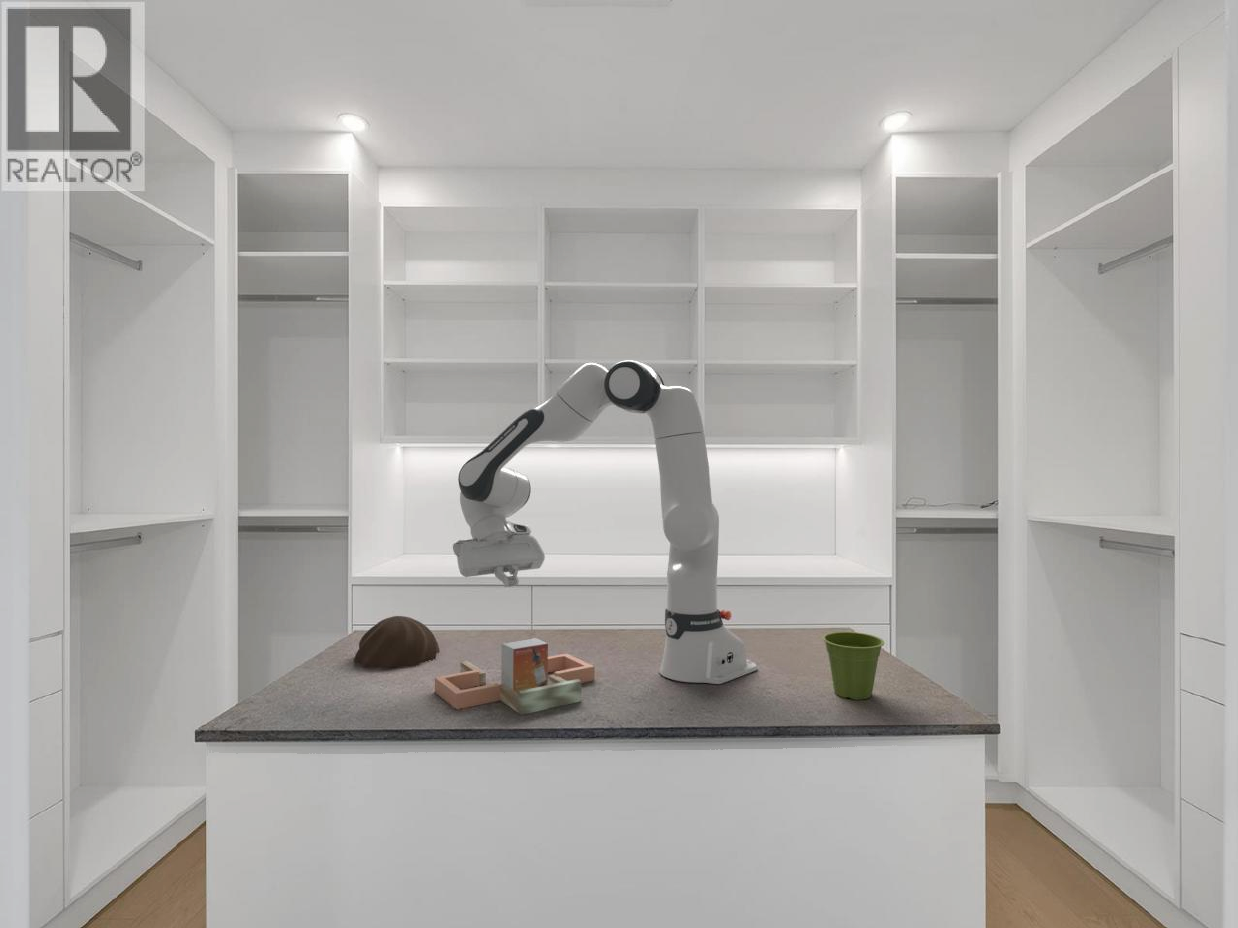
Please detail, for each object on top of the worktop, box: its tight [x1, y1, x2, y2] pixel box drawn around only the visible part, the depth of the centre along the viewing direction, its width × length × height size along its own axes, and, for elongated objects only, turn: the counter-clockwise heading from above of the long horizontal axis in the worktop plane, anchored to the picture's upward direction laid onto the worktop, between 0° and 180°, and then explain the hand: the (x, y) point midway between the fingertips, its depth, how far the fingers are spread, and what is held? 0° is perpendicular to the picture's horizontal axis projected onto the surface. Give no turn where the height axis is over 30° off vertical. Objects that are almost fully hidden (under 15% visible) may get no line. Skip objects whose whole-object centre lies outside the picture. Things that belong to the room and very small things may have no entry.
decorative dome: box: [353, 615, 441, 670], centre depth 169 cm, size 19×20×10 cm
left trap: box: [434, 670, 501, 710], centre depth 141 cm, size 9×12×3 cm
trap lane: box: [459, 660, 582, 716], centre depth 147 cm, size 13×30×4 cm, turn 34°
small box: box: [500, 637, 549, 693], centre depth 142 cm, size 8×6×10 cm
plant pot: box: [822, 631, 885, 701], centre depth 142 cm, size 12×12×11 cm
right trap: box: [548, 653, 596, 684], centre depth 153 cm, size 9×12×3 cm
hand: (512, 584), depth 156 cm, fingers closed
